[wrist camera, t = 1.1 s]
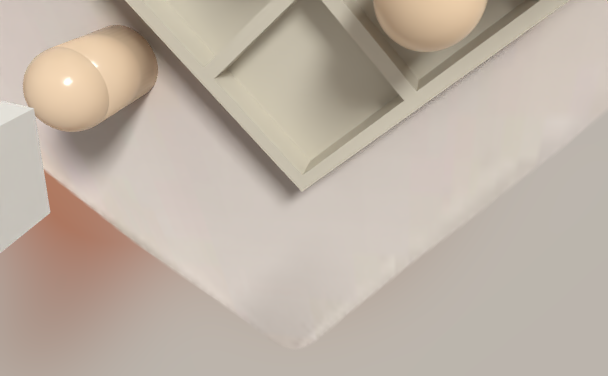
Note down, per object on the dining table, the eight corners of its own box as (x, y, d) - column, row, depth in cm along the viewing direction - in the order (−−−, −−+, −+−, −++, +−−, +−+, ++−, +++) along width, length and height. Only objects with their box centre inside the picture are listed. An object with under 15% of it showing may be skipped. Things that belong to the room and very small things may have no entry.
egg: (78, 57, 34) (-12, 96, 27) (116, 9, 32) (28, 39, 25) (131, 110, 35) (55, 160, 28) (171, 67, 33) (99, 111, 26)
